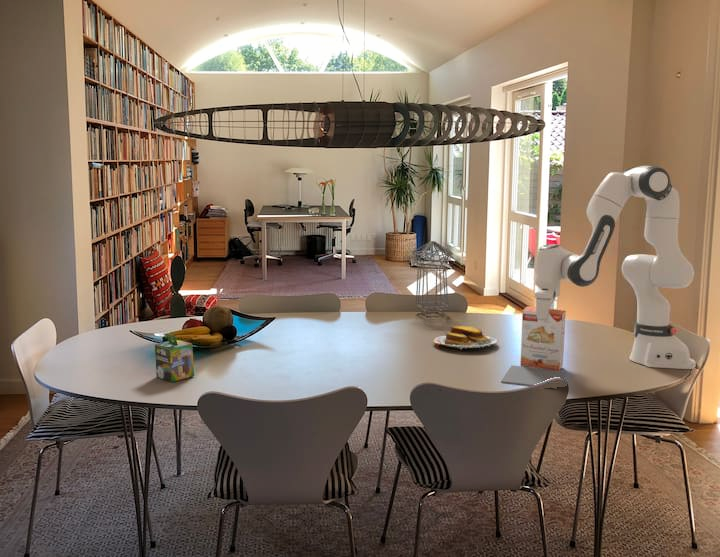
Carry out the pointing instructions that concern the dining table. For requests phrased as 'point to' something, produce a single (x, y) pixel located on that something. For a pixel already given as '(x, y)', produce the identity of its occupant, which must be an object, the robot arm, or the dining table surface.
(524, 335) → the cracker box
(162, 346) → the chalk box
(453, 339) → the food on plate
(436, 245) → the geometric lantern
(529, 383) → the mat
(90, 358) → the dining table surface
